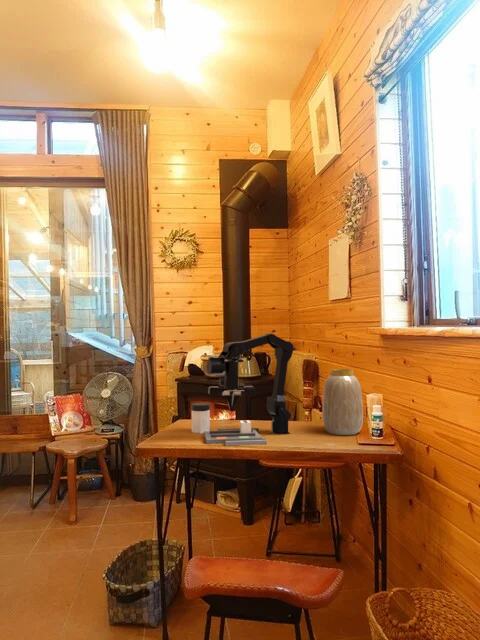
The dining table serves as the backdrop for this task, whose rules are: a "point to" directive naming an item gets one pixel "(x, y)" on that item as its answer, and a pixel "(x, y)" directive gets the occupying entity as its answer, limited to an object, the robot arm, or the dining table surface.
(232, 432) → the breaker panel
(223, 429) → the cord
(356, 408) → the vase
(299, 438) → the dining table surface
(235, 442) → the grey flat bar
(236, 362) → the robot arm
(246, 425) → the breaker lever
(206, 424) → the jar
